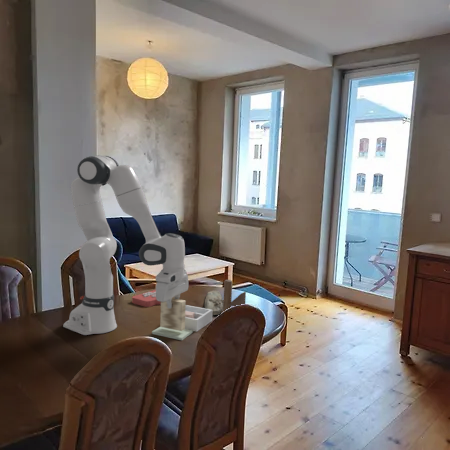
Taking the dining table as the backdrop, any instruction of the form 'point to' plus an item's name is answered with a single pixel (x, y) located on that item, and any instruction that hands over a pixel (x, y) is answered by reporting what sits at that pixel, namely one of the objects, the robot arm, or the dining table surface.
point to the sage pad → (172, 333)
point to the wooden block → (228, 296)
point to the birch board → (173, 315)
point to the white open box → (198, 318)
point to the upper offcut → (189, 314)
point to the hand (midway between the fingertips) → (172, 306)
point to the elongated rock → (214, 302)
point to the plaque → (146, 299)
